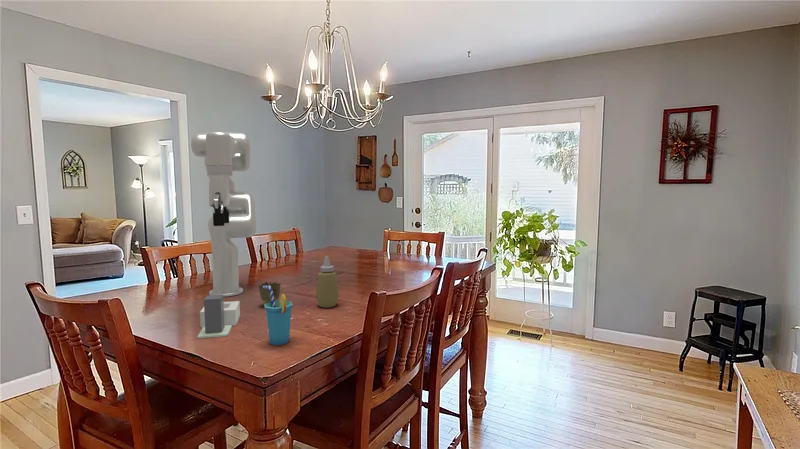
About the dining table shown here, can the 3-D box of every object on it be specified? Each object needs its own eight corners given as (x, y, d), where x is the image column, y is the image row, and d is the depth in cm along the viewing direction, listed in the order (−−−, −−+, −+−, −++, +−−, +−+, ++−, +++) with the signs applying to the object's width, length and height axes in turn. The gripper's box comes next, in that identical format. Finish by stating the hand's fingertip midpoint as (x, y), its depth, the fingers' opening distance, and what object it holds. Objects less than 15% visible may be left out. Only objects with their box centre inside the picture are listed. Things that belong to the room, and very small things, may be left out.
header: (207, 317, 135) (206, 302, 135) (240, 315, 137) (239, 300, 137) (200, 328, 125) (199, 312, 125) (235, 325, 128) (235, 309, 127)
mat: (203, 329, 125) (203, 327, 125) (231, 326, 127) (231, 325, 126) (197, 338, 117) (197, 336, 117) (227, 336, 119) (227, 334, 119)
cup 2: (274, 309, 145) (274, 286, 144) (255, 307, 146) (254, 285, 146) (284, 303, 152) (284, 281, 151) (266, 302, 154) (265, 280, 153)
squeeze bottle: (311, 305, 149) (310, 256, 147) (329, 301, 155) (329, 253, 153) (325, 310, 144) (324, 259, 142) (343, 305, 150) (343, 256, 148)
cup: (252, 337, 118) (250, 285, 116) (277, 331, 123) (276, 281, 122) (277, 351, 108) (276, 295, 106) (303, 343, 113) (302, 289, 112)
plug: (208, 328, 123) (207, 295, 122) (224, 327, 124) (223, 294, 123) (205, 333, 119) (203, 299, 118) (221, 332, 120) (220, 298, 119)
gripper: (212, 172, 141) (214, 222, 143) (201, 170, 124) (203, 227, 126) (235, 172, 143) (237, 222, 145) (228, 170, 126) (229, 226, 128)
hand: (221, 224), depth 135 cm, fingers open, 9 cm apart
